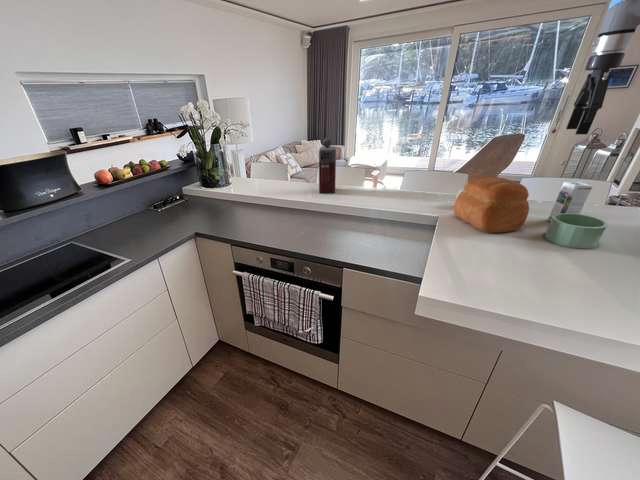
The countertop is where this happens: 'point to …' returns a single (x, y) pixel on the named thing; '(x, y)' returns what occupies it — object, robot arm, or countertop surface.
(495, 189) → the bread
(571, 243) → the crock
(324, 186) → the glass liquor decanter
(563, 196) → the syrup box
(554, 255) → the countertop surface
